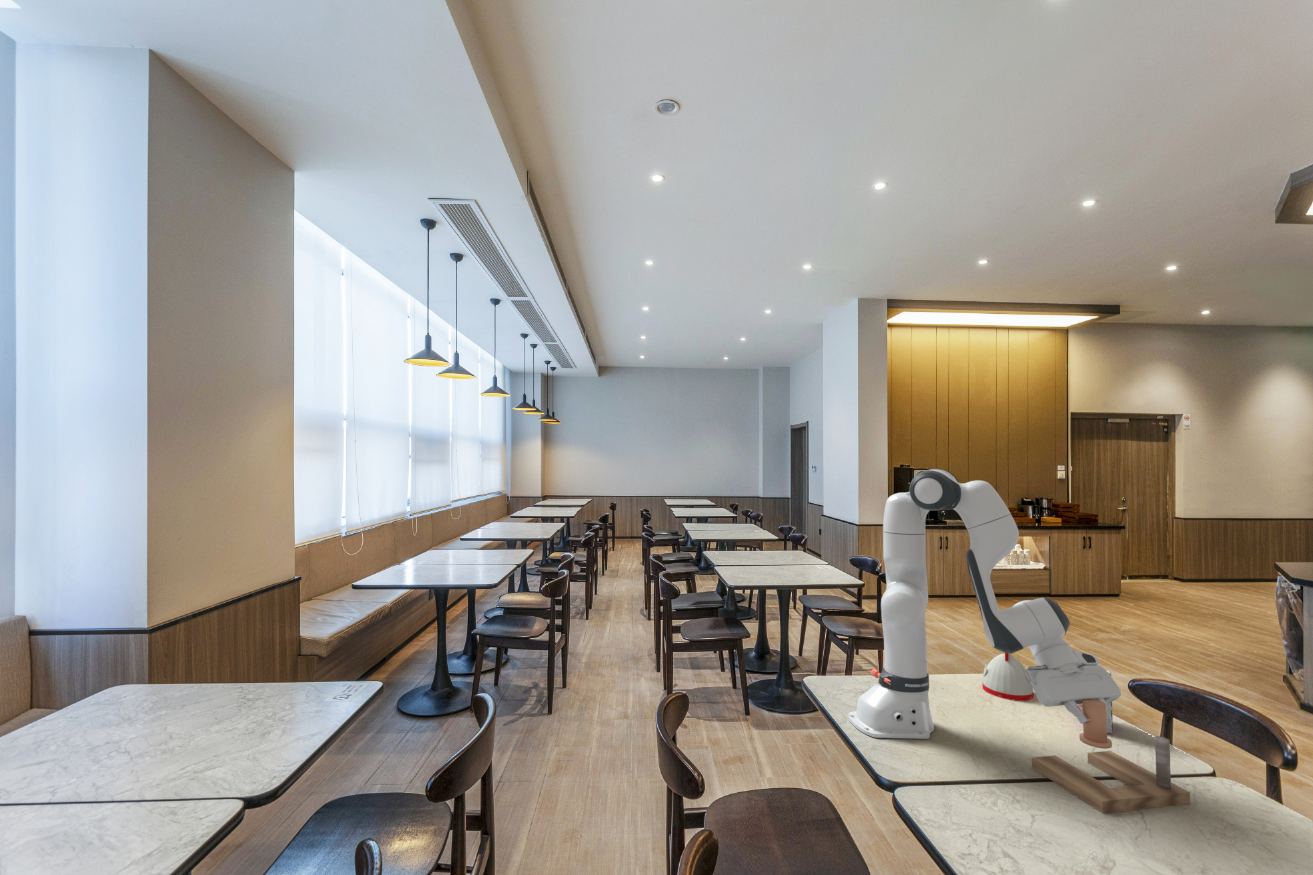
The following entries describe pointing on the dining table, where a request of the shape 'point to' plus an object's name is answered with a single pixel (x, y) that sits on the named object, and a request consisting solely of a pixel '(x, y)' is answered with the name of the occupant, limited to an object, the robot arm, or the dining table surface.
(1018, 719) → the dining table surface
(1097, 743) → the tan cylinder
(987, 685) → the kitchen timer
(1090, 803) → the wooden frame with post
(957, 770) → the dining table surface
